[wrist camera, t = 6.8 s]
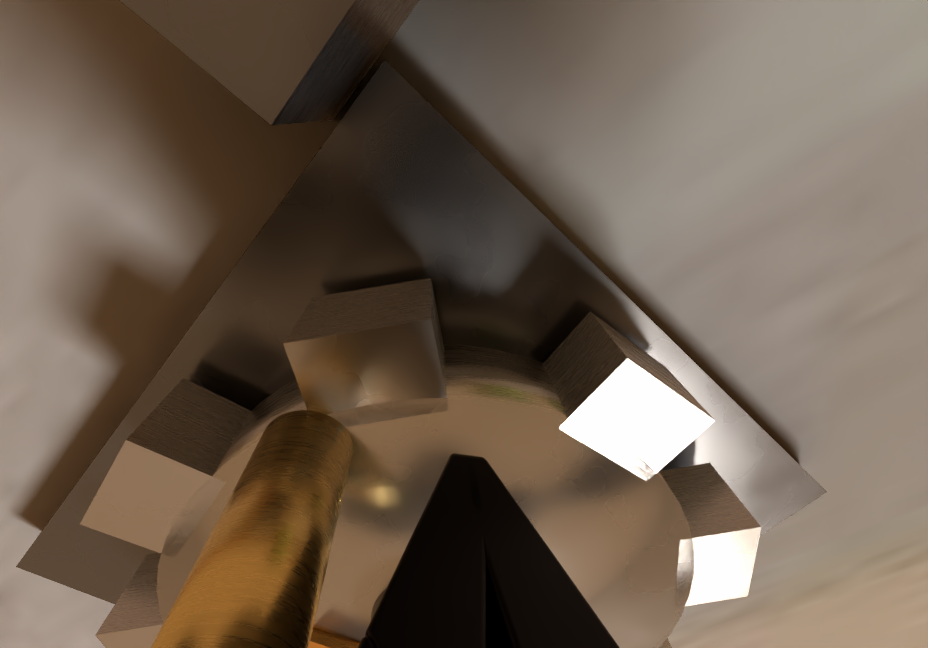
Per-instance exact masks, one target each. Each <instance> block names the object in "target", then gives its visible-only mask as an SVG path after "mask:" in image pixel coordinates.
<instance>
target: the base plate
mask: <svg viewBox="0 0 928 648" xmlns="http://www.w3.org/2000/svg"><path fill="white" fill-rule="evenodd" d="M426 278H431V280H432V286H433V291H434V296H435V301H436V307H437V312H438V317H439V322H440V327H441V333H442V338H443V343H444V345H466V346H474V347H482V348H490V349H497V350H501V351H505V352H508V353H512V354H516V355H520V356H524V357H528V358H531V359H534V360H536V361H539V362H541V363H544V362H545V361H546V360H547V359H548V358H549V356H550V355H551V354H552V353H553V352H554V351H555V350H556V349H557V348H558V347H559V345H560V344H561V343H562V342H563V341H564V340H565V339H566V338H567V337H568V335H569V334H570V333H571V332H572V331H573V330H574V329H575V328H576V327H577V325H578V324H579V323H580V322H581V321H582V320H583V319H584V318H585V317H586V316H587V314H588V313H589V312H591V313H593V314H594V315H596V316H597V317H598V318H600V319H601V320H602V321H604V322H605V323H606V324H608V325H609V326H611V327H612V328H613V329H615V330H616V331H617V332H619V333H620V334H622V335H623V336H624V337H626V338H627V339H628V340H630V341H631V342H632V343H634V344H635V345H637V346H638V347H639V348H641V349H642V350H643V351H645V352H646V353H647V354H649V355H650V356H652V357H653V358H654V359H656V360H657V361H658V362H660V363H661V364H663V365H664V366H665V367H666V368H667V369H668V370H669V371H670V372H671V373H672V374H673V375H674V376H675V378H676V379H677V380H678V381H679V382H680V383H681V384H682V385H683V386H684V387H685V388H686V389H687V391H688V392H689V393H690V394H691V395H692V396H693V397H694V398H695V399H696V400H697V401H698V402H699V403H700V405H701V406H702V407H703V408H704V409H705V410H706V411H707V412H708V413H709V414H710V415H711V416H712V418H713V419H714V420H715V422H713V423H712V424H711V425H710V426H709V427H708V428H707V429H706V430H704V431H703V432H702V433H701V434H700V435H699V436H698V437H697V438H695V439H694V440H693V441H692V442H691V443H690V444H689V445H687V446H686V447H685V448H684V449H683V450H682V451H681V452H680V453H678V454H677V455H676V456H675V457H674V458H673V459H672V460H671V461H669V462H668V463H667V464H666V465H665V466H664V467H663V468H662V469H660V470H659V471H662V470H668V469H674V468H680V467H686V466H693V465H699V464H705V463H711V465H712V466H713V467H714V468H715V470H716V471H717V472H718V473H719V475H720V476H721V477H722V478H723V480H724V481H725V482H726V483H727V485H728V486H729V487H730V488H731V490H732V491H733V492H734V493H735V495H736V496H737V497H738V498H739V500H740V501H741V502H742V503H743V505H744V506H745V507H746V508H747V510H748V511H749V512H750V514H751V515H752V516H753V517H754V519H755V520H756V521H757V522H758V524H759V525H760V526H761V531H760V536H761V535H762V534H764V533H765V532H767V531H768V530H770V529H771V528H773V527H774V526H776V525H777V524H779V523H780V522H782V521H783V520H785V519H786V518H788V517H789V516H791V515H792V514H794V513H796V512H797V511H799V510H800V509H802V508H803V507H805V506H806V505H808V504H809V503H811V502H812V501H814V500H815V499H817V498H818V497H820V496H821V495H823V494H824V493H826V492H827V491H826V490H825V489H824V488H823V487H822V486H821V485H820V484H819V483H818V482H817V481H816V480H815V479H813V478H812V477H811V476H810V475H809V474H808V473H807V472H806V471H805V470H804V469H803V468H802V467H801V466H800V465H799V464H798V463H797V462H796V461H795V460H794V459H793V458H792V457H791V456H790V455H789V454H788V453H787V452H786V451H785V450H784V449H783V448H782V447H781V446H780V445H779V444H778V443H777V442H776V441H775V440H774V439H773V438H772V437H770V436H769V435H768V434H767V433H766V432H765V431H764V430H763V429H762V428H761V427H760V426H759V425H758V424H757V423H756V422H755V421H754V420H753V419H752V418H751V417H750V416H749V415H748V414H747V413H746V412H745V411H744V410H743V409H742V408H741V407H740V406H739V405H738V404H737V403H736V402H735V401H734V400H733V399H732V398H731V397H730V396H728V395H727V394H726V393H725V392H724V391H723V390H722V389H721V388H720V387H719V386H718V385H717V384H716V383H715V382H714V381H713V380H712V379H711V378H710V377H709V376H708V375H707V374H706V373H705V372H704V371H703V370H702V369H701V368H700V367H699V366H698V365H697V364H696V363H695V362H694V361H693V360H692V359H691V358H690V357H689V356H688V355H687V354H685V353H684V352H683V351H682V350H681V349H680V348H679V347H678V346H677V345H676V344H675V343H674V342H673V341H672V340H671V339H670V338H669V337H668V336H667V335H666V334H665V333H664V332H663V331H662V330H661V329H660V328H659V327H658V326H657V325H656V324H655V323H654V322H653V321H652V320H651V319H650V318H649V317H648V316H647V315H646V314H645V313H644V312H642V311H641V310H640V309H639V308H638V307H637V306H636V305H635V304H634V303H633V302H632V301H631V300H630V299H629V298H628V297H627V296H626V295H625V294H624V293H623V292H622V291H621V290H620V289H619V288H618V287H617V286H616V285H615V284H614V283H613V282H612V281H611V280H610V279H609V278H608V277H607V276H606V275H605V274H604V273H603V272H602V271H600V270H599V269H598V268H597V267H596V266H595V265H594V264H593V263H592V262H591V261H590V260H589V259H588V258H587V257H586V256H585V255H584V254H583V253H582V252H581V251H580V250H579V249H578V248H577V247H576V246H575V245H574V244H573V243H572V242H571V241H570V240H569V239H568V238H567V237H566V236H565V235H564V234H563V233H562V232H561V231H560V230H559V229H557V228H556V227H555V226H554V225H553V224H552V223H551V222H550V221H549V220H548V219H547V218H546V217H545V216H544V215H543V214H542V213H541V212H540V211H539V210H538V209H537V208H536V207H535V206H534V205H533V204H532V203H531V202H530V201H529V200H528V199H527V198H526V197H525V196H524V195H523V194H522V193H521V192H520V191H519V190H518V189H517V188H515V187H514V186H513V185H512V184H511V183H510V182H509V181H508V180H507V179H506V178H505V177H504V176H503V175H502V174H501V173H500V172H499V171H498V170H497V169H496V168H495V167H494V166H493V165H492V164H491V163H490V162H489V161H488V160H487V159H486V158H485V157H484V156H483V155H482V154H481V153H480V152H479V151H478V150H477V149H476V148H475V147H474V146H472V145H471V144H470V143H469V142H468V141H467V140H466V139H465V138H464V137H463V136H462V135H461V134H460V133H459V132H458V131H457V130H456V129H455V128H454V127H453V126H452V125H451V124H450V123H449V122H448V121H447V120H446V119H445V118H444V117H443V116H442V115H441V114H440V113H439V112H438V111H437V110H436V109H435V108H434V107H433V106H432V105H431V104H429V103H428V102H427V101H426V100H425V99H424V98H423V97H422V96H421V95H420V94H419V93H418V92H417V91H416V90H415V89H414V88H413V87H412V86H411V85H410V84H409V83H408V82H407V81H406V80H405V79H404V78H403V77H402V76H401V75H400V74H399V73H398V72H397V71H396V70H395V69H394V68H393V67H392V66H391V65H390V64H389V63H387V62H386V61H385V60H384V62H383V63H382V65H381V66H380V67H379V69H378V70H377V71H376V73H375V74H374V76H373V77H372V78H371V80H370V81H369V82H368V84H367V85H366V87H365V88H364V89H363V91H362V92H361V93H360V95H359V96H358V98H357V99H356V100H355V102H354V103H353V104H352V106H351V107H350V108H349V110H348V111H347V113H346V114H345V115H344V117H343V118H342V119H341V121H340V122H339V124H338V125H337V126H336V128H335V129H334V130H333V132H332V133H331V135H330V136H329V137H328V139H327V140H326V141H325V143H324V144H323V146H322V147H321V148H320V150H319V151H318V152H317V154H316V155H315V157H314V158H313V159H312V161H311V162H310V163H309V165H308V166H307V168H306V169H305V170H304V172H303V173H302V174H301V176H300V177H299V179H298V180H297V181H296V183H295V184H294V185H293V187H292V188H291V190H290V191H289V192H288V194H287V195H286V196H285V198H284V199H283V201H282V202H281V203H280V205H279V206H278V207H277V209H276V210H275V212H274V213H273V214H272V216H271V217H270V218H269V220H268V221H267V223H266V224H265V225H264V227H263V228H262V229H261V231H260V232H259V234H258V235H257V236H256V238H255V239H254V240H253V242H252V243H251V245H250V246H249V247H248V249H247V250H246V251H245V253H244V254H243V256H242V257H241V258H240V260H239V261H238V262H237V264H236V265H235V267H234V268H233V269H232V271H231V272H230V273H229V275H228V276H227V278H226V279H225V280H224V282H223V283H222V284H221V286H220V287H219V289H218V290H217V291H216V293H215V294H214V295H213V297H212V298H211V300H210V301H209V302H208V304H207V305H206V306H205V308H204V309H203V311H202V312H201V313H200V315H199V316H198V317H197V319H196V320H195V322H194V323H193V324H192V326H191V327H190V328H189V330H188V331H187V333H186V334H185V335H184V337H183V338H182V339H181V341H180V342H179V343H178V345H177V346H176V348H175V349H174V350H173V352H172V353H171V354H170V356H169V357H168V359H167V360H166V361H165V363H164V364H163V365H162V367H161V368H160V370H159V371H158V372H157V374H156V375H155V376H154V378H153V379H152V381H151V382H150V383H149V385H148V386H147V387H146V389H145V390H144V392H143V393H142V394H141V396H140V397H139V398H138V400H137V401H136V403H135V404H134V405H133V407H132V408H131V409H130V411H129V412H128V414H127V415H126V416H125V418H124V419H123V420H122V422H121V423H120V425H119V426H118V427H117V429H116V430H115V431H114V433H113V434H112V436H111V437H110V438H109V440H108V441H107V442H106V444H105V445H104V447H103V448H102V449H101V451H100V452H99V453H98V455H97V456H96V458H95V459H94V460H93V462H92V463H91V464H90V466H89V467H88V469H87V470H86V471H85V473H84V474H83V475H82V477H81V478H80V480H79V481H78V482H77V484H76V485H75V486H74V488H73V489H72V491H71V492H70V493H69V495H68V496H67V497H66V499H65V500H64V502H63V503H62V504H61V506H60V507H59V508H58V510H57V511H56V513H55V514H54V515H53V517H52V518H51V519H50V521H49V522H48V524H47V525H46V526H45V528H44V529H43V530H42V532H41V533H40V535H39V536H38V537H37V539H36V540H35V541H34V543H33V544H32V546H31V547H30V548H29V550H28V551H27V552H26V554H25V555H24V557H23V558H22V559H21V561H20V562H19V563H18V565H17V566H16V567H18V568H21V569H23V570H26V571H29V572H31V573H34V574H37V575H39V576H42V577H44V578H47V579H50V580H52V581H55V582H58V583H60V584H63V585H66V586H68V587H71V588H73V589H76V590H79V591H81V592H84V593H87V594H89V595H92V596H95V597H97V598H100V599H102V600H105V601H108V602H110V603H113V604H116V602H117V601H118V599H119V598H120V596H121V594H122V593H123V591H124V590H125V588H126V587H127V585H128V584H129V582H130V580H131V579H132V577H133V576H134V574H135V573H136V571H137V570H138V568H139V566H140V565H141V563H142V562H143V560H144V559H145V557H146V555H147V554H153V553H158V552H156V551H153V550H150V549H147V548H144V547H142V546H139V545H136V544H133V543H130V542H128V541H125V540H122V539H119V538H117V537H114V536H111V535H108V534H105V533H103V532H100V531H97V530H94V529H91V528H89V527H86V526H83V525H80V523H81V521H82V519H83V517H84V515H85V514H86V512H87V510H88V508H89V506H90V505H91V503H92V501H93V499H94V497H95V495H96V494H97V492H98V490H99V488H100V486H101V484H102V483H103V481H104V479H105V477H106V475H107V473H108V472H109V470H110V468H111V466H112V464H113V462H114V461H115V459H116V457H117V455H118V453H119V451H120V450H121V448H122V446H123V444H124V442H125V440H126V439H127V438H128V437H129V436H130V435H131V434H132V433H133V432H134V431H135V429H136V428H137V427H138V426H139V425H140V424H141V423H142V422H143V421H144V420H145V419H146V418H147V417H148V416H149V414H150V413H151V412H152V411H153V410H154V409H155V408H156V407H157V406H158V405H159V404H160V403H161V402H162V400H163V399H164V398H165V397H166V396H167V395H168V394H169V393H170V392H171V391H172V390H173V389H174V388H175V387H176V385H177V384H178V383H179V382H180V381H181V380H182V379H183V378H184V379H186V380H188V381H191V382H193V383H195V384H197V385H199V386H201V387H203V388H205V389H207V390H209V391H211V392H213V393H215V394H217V395H219V396H222V397H224V398H226V399H228V400H230V401H232V402H234V403H236V404H238V405H240V406H242V407H244V408H246V409H248V410H251V411H252V410H253V409H254V408H255V407H256V406H257V405H258V404H260V403H261V402H262V401H263V400H265V399H266V398H268V397H269V396H270V395H272V394H273V393H275V392H276V391H278V390H279V389H281V388H282V387H283V386H285V385H286V384H288V383H290V382H292V381H294V380H296V377H295V375H294V372H293V369H292V367H291V364H290V361H289V358H288V356H287V353H286V350H285V348H284V345H283V343H284V341H285V340H286V338H287V337H288V335H289V333H290V332H291V330H292V329H293V327H294V326H295V324H296V322H297V321H298V319H299V318H300V316H301V315H302V313H303V311H304V310H305V308H306V307H307V305H308V304H309V302H310V301H311V299H312V297H317V296H323V295H329V294H335V293H341V292H347V291H353V290H359V289H365V288H371V287H378V286H384V285H390V284H396V283H402V282H408V281H414V280H420V279H426Z"/></svg>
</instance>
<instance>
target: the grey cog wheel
mask: <svg viewBox="0 0 928 648" xmlns="http://www.w3.org/2000/svg"><path fill="white" fill-rule="evenodd" d="M283 345H284V348H285V350H286V353H287V356H288V358H289V361H290V364H291V367H292V369H293V372H294V375H295V377H296V380H294V381H292V382H290V383H288V384H286V385H285V386H283V387H282V388H281V389H279V390H278V391H276V392H275V393H273V394H272V395H270V396H269V397H268V398H266V399H265V400H263V401H262V402H261V403H260V404H258V405H257V406H256V407H255V408H254V409H253V410H252V411H251V410H248V409H246V408H244V407H242V406H240V405H238V404H236V403H234V402H232V401H230V400H228V399H226V398H224V397H222V396H219V395H217V394H215V393H213V392H211V391H209V390H207V389H205V388H203V387H201V386H199V385H197V384H195V383H193V382H191V381H188V380H186V379H184V378H183V379H182V380H181V381H180V382H179V383H178V384H177V385H176V387H175V388H174V389H173V390H172V391H171V392H170V393H169V394H168V395H167V396H166V397H165V398H164V399H163V400H162V402H161V403H160V404H159V405H158V406H157V407H156V408H155V409H154V410H153V411H152V412H151V413H150V414H149V416H148V417H147V418H146V419H145V420H144V421H143V422H142V423H141V424H140V425H139V426H138V427H137V428H136V429H135V431H134V432H133V433H132V434H131V435H130V436H129V437H128V438H127V439H126V440H125V442H124V444H123V446H122V448H121V450H120V451H119V453H118V455H117V457H116V459H115V461H114V462H113V464H112V466H111V468H110V470H109V472H108V473H107V475H106V477H105V479H104V481H103V483H102V484H101V486H100V488H99V490H98V492H97V494H96V495H95V497H94V499H93V501H92V503H91V505H90V506H89V508H88V510H87V512H86V514H85V515H84V517H83V519H82V521H81V523H80V525H83V526H86V527H89V528H91V529H94V530H97V531H100V532H103V533H105V534H108V535H111V536H114V537H117V538H119V539H122V540H125V541H128V542H130V543H133V544H136V545H139V546H142V547H144V548H147V549H150V550H153V551H156V552H158V553H153V554H147V555H146V557H145V559H144V560H143V562H142V563H141V565H140V566H139V568H138V570H137V571H136V573H135V574H134V576H133V577H132V579H131V580H130V582H129V584H128V585H127V587H126V588H125V590H124V591H123V593H122V594H121V596H120V598H119V599H118V601H117V602H116V604H115V605H114V607H113V608H112V610H111V612H110V613H109V615H108V616H107V618H106V619H105V621H104V623H103V624H102V626H101V627H100V629H99V630H98V632H97V633H96V635H95V636H96V637H97V638H98V639H99V640H100V641H101V643H102V644H103V645H104V646H105V647H106V648H358V646H359V644H360V642H361V640H362V638H363V637H365V633H366V630H367V628H368V626H369V624H370V622H371V620H372V618H373V616H374V613H375V611H376V609H377V607H378V605H379V603H380V601H381V599H382V597H383V595H384V592H385V590H386V588H387V586H388V584H389V582H390V580H391V578H392V576H393V574H394V572H395V569H396V567H397V565H398V563H399V561H400V559H401V557H402V555H403V553H404V551H405V548H406V546H407V544H408V542H409V540H410V538H411V536H412V534H413V532H414V530H415V528H416V525H417V523H418V521H419V519H420V517H421V515H422V513H423V511H424V509H425V507H426V504H427V502H428V500H429V498H430V496H431V494H432V492H433V490H434V488H435V486H436V484H437V481H438V479H439V477H440V475H441V473H442V471H443V469H444V467H445V465H446V463H447V460H448V458H449V456H450V455H451V454H453V453H458V454H465V455H473V456H480V457H484V458H485V459H486V460H487V461H488V463H489V464H490V465H491V467H492V468H493V470H494V471H495V472H496V474H497V475H498V477H499V478H500V479H501V481H502V482H503V484H504V485H505V487H506V488H507V489H508V491H509V492H510V494H511V495H512V496H513V498H514V499H515V501H516V502H517V503H518V505H519V506H520V508H521V509H522V510H523V512H524V513H525V515H526V516H527V518H528V519H529V520H530V522H531V523H532V525H533V526H534V527H535V529H536V530H537V532H538V533H539V534H540V536H541V537H542V539H543V540H544V541H545V543H546V544H547V546H548V547H549V549H550V550H551V551H552V553H553V554H554V556H555V557H556V558H557V560H558V561H559V563H560V564H561V565H562V567H563V568H564V570H565V571H566V572H567V574H568V575H569V577H570V578H571V580H572V581H573V582H574V584H575V585H576V587H577V588H578V589H579V591H580V592H581V594H582V595H583V596H584V598H585V599H586V601H587V602H588V603H589V605H590V606H591V608H592V609H593V611H594V612H595V613H596V615H597V616H598V618H599V619H600V620H601V622H602V623H603V625H604V626H605V627H606V629H607V630H608V632H609V633H610V634H611V636H612V637H613V639H614V640H615V642H616V643H617V644H618V646H619V647H620V648H672V647H671V645H670V643H669V641H668V639H667V638H668V636H669V635H670V633H671V632H672V630H673V628H674V627H675V625H676V623H677V622H678V620H679V618H680V617H681V615H682V612H683V610H684V607H685V606H689V605H696V604H702V603H708V602H714V601H720V600H726V599H733V598H739V597H745V596H748V591H749V586H750V581H751V576H752V571H753V566H754V561H755V556H756V551H757V546H758V541H759V536H760V531H761V526H760V525H759V524H758V522H757V521H756V520H755V519H754V517H753V516H752V515H751V514H750V512H749V511H748V510H747V508H746V507H745V506H744V505H743V503H742V502H741V501H740V500H739V498H738V497H737V496H736V495H735V493H734V492H733V491H732V490H731V488H730V487H729V486H728V485H727V483H726V482H725V481H724V480H723V478H722V477H721V476H720V475H719V473H718V472H717V471H716V470H715V468H714V467H713V466H712V465H711V463H705V464H699V465H693V466H686V467H680V468H674V469H668V470H662V471H659V470H660V469H662V468H663V467H664V466H665V465H666V464H667V463H668V462H669V461H671V460H672V459H673V458H674V457H675V456H676V455H677V454H678V453H680V452H681V451H682V450H683V449H684V448H685V447H686V446H687V445H689V444H690V443H691V442H692V441H693V440H694V439H695V438H697V437H698V436H699V435H700V434H701V433H702V432H703V431H704V430H706V429H707V428H708V427H709V426H710V425H711V424H712V423H713V422H715V420H714V419H713V418H712V416H711V415H710V414H709V413H708V412H707V411H706V410H705V409H704V408H703V407H702V406H701V405H700V403H699V402H698V401H697V400H696V399H695V398H694V397H693V396H692V395H691V394H690V393H689V392H688V391H687V389H686V388H685V387H684V386H683V385H682V384H681V383H680V382H679V381H678V380H677V379H676V378H675V376H674V375H673V374H672V373H671V372H670V371H669V370H668V369H667V368H666V367H665V366H664V365H663V364H661V363H660V362H658V361H657V360H656V359H654V358H653V357H652V356H650V355H649V354H647V353H646V352H645V351H643V350H642V349H641V348H639V347H638V346H637V345H635V344H634V343H632V342H631V341H630V340H628V339H627V338H626V337H624V336H623V335H622V334H620V333H619V332H617V331H616V330H615V329H613V328H612V327H611V326H609V325H608V324H606V323H605V322H604V321H602V320H601V319H600V318H598V317H597V316H596V315H594V314H593V313H591V312H589V313H588V314H587V316H586V317H585V318H584V319H583V320H582V321H581V322H580V323H579V324H578V325H577V327H576V328H575V329H574V330H573V331H572V332H571V333H570V334H569V335H568V337H567V338H566V339H565V340H564V341H563V342H562V343H561V344H560V345H559V347H558V348H557V349H556V350H555V351H554V352H553V353H552V354H551V355H550V356H549V358H548V359H547V360H546V361H545V362H544V363H541V362H539V361H536V360H534V359H531V358H528V357H524V356H520V355H516V354H512V353H508V352H505V351H501V350H497V349H490V348H482V347H474V346H466V345H444V343H443V338H442V333H441V327H440V322H439V317H438V312H437V307H436V301H435V296H434V291H433V286H432V280H431V278H426V279H420V280H414V281H408V282H402V283H396V284H390V285H384V286H378V287H371V288H365V289H359V290H353V291H347V292H341V293H335V294H329V295H323V296H317V297H312V299H311V301H310V302H309V304H308V305H307V307H306V308H305V310H304V311H303V313H302V315H301V316H300V318H299V319H298V321H297V322H296V324H295V326H294V327H293V329H292V330H291V332H290V333H289V335H288V337H287V338H286V340H285V341H284V343H283Z"/></svg>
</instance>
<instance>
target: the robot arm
mask: <svg viewBox="0 0 928 648" xmlns="http://www.w3.org/2000/svg"><path fill="white" fill-rule="evenodd" d="M358 648H620V647H619V646H618V644H617V643H616V642H615V640H614V639H613V637H612V636H611V634H610V633H609V632H608V630H607V629H606V627H605V626H604V625H603V623H602V622H601V620H600V619H599V618H598V616H597V615H596V613H595V612H594V611H593V609H592V608H591V606H590V605H589V603H588V602H587V601H586V599H585V598H584V596H583V595H582V594H581V592H580V591H579V589H578V588H577V587H576V585H575V584H574V582H573V581H572V580H571V578H570V577H569V575H568V574H567V572H566V571H565V570H564V568H563V567H562V565H561V564H560V563H559V561H558V560H557V558H556V557H555V556H554V554H553V553H552V551H551V550H550V549H549V547H548V546H547V544H546V543H545V541H544V540H543V539H542V537H541V536H540V534H539V533H538V532H537V530H536V529H535V527H534V526H533V525H532V523H531V522H530V520H529V519H528V518H527V516H526V515H525V513H524V512H523V510H522V509H521V508H520V506H519V505H518V503H517V502H516V501H515V499H514V498H513V496H512V495H511V494H510V492H509V491H508V489H507V488H506V487H505V485H504V484H503V482H502V481H501V479H500V478H499V477H498V475H497V474H496V472H495V471H494V470H493V468H492V467H491V465H490V464H489V463H488V461H487V460H486V459H485V458H484V457H480V456H473V455H465V454H458V453H453V454H451V455H450V456H449V458H448V460H447V463H446V465H445V467H444V469H443V471H442V473H441V475H440V477H439V479H438V481H437V484H436V486H435V488H434V490H433V492H432V494H431V496H430V498H429V500H428V502H427V504H426V507H425V509H424V511H423V513H422V515H421V517H420V519H419V521H418V523H417V525H416V528H415V530H414V532H413V534H412V536H411V538H410V540H409V542H408V544H407V546H406V548H405V551H404V553H403V555H402V557H401V559H400V561H399V563H398V565H397V567H396V569H395V572H394V574H393V576H392V578H391V580H390V582H389V584H388V586H387V588H386V590H385V592H384V595H383V597H382V599H381V601H380V603H379V605H378V607H377V609H376V611H375V613H374V616H373V618H372V620H371V622H370V624H369V626H368V628H367V630H366V633H365V637H363V638H362V640H361V642H360V644H359V646H358Z"/></svg>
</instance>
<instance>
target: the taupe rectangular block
mask: <svg viewBox="0 0 928 648" xmlns="http://www.w3.org/2000/svg"><path fill="white" fill-rule="evenodd" d="M120 1H121V2H122V3H123V4H125V5H126V6H127V7H128V8H129V9H131V10H132V11H133V12H134V13H136V14H137V15H138V16H139V17H140V18H142V19H143V20H144V21H145V22H146V23H148V24H149V25H150V26H151V27H153V28H154V29H155V30H156V31H157V32H159V33H160V34H161V35H162V36H163V37H165V38H166V39H167V40H168V41H170V42H171V43H172V44H173V45H174V46H176V47H177V48H178V49H179V50H180V51H182V52H183V53H184V54H185V55H186V56H188V57H189V58H190V59H191V60H193V61H194V62H195V63H196V64H197V65H199V66H200V67H201V68H202V69H203V70H205V71H206V72H207V73H208V74H210V75H211V76H212V77H213V78H214V79H216V80H217V81H218V82H219V83H220V84H222V85H223V86H224V87H225V88H226V89H228V90H229V91H230V92H231V93H233V94H234V95H235V96H236V97H237V98H239V99H240V100H241V101H242V102H243V103H245V104H246V105H247V106H248V107H250V108H251V109H252V110H253V111H254V112H256V113H257V114H258V115H259V116H260V117H262V118H263V119H264V120H265V121H266V122H268V123H269V124H270V125H279V124H291V123H303V122H315V121H327V120H334V118H335V117H336V116H337V114H338V113H339V111H340V110H341V109H342V107H343V106H344V104H345V103H346V102H347V100H348V99H349V98H350V96H351V95H352V93H353V92H354V91H355V89H356V88H357V86H358V85H359V84H360V82H361V81H362V79H363V78H364V77H365V75H366V74H367V72H368V71H369V70H370V68H371V67H372V65H373V64H374V63H375V61H376V60H377V58H378V57H379V56H380V54H381V53H382V52H383V50H384V49H385V47H386V46H387V45H388V43H389V42H390V40H391V39H392V38H393V36H394V35H395V33H396V32H397V31H398V29H399V28H400V26H401V25H402V24H403V22H404V21H405V19H406V18H407V17H408V15H409V14H410V12H411V11H412V10H413V8H414V7H415V6H416V4H417V3H418V1H419V0H120Z"/></svg>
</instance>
